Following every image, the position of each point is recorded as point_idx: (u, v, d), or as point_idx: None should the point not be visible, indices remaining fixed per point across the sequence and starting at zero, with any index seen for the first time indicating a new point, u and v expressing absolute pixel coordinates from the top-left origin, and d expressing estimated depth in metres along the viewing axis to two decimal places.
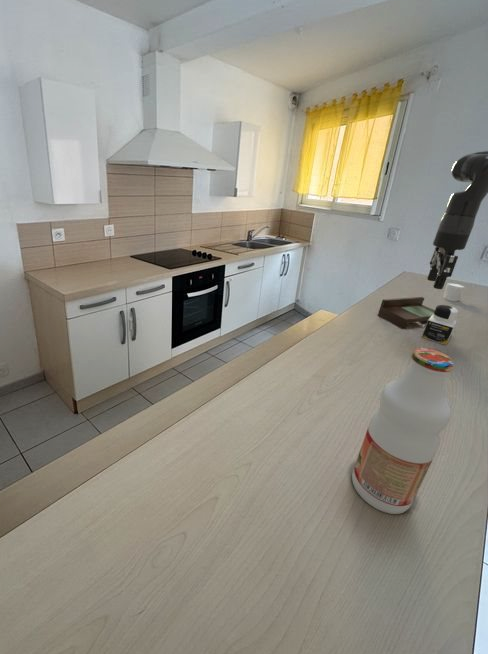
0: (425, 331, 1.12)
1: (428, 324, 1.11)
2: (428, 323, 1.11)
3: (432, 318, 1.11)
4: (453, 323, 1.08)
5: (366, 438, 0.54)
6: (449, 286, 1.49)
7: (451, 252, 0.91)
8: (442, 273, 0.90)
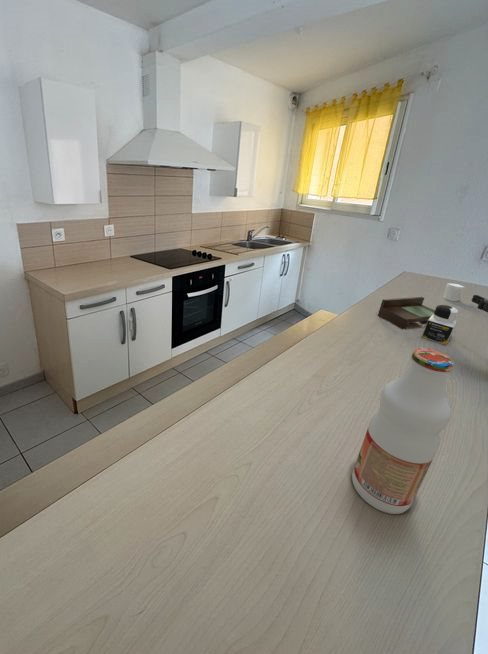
0: (425, 331, 1.12)
1: (428, 324, 1.11)
2: (428, 323, 1.11)
3: (432, 318, 1.11)
4: (453, 323, 1.08)
5: (366, 438, 0.54)
6: (449, 286, 1.49)
7: None
8: None
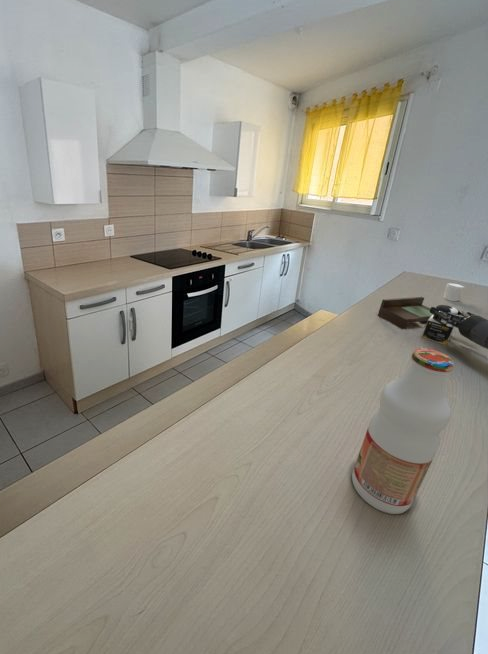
0: (425, 331, 1.12)
1: (428, 324, 1.11)
2: (428, 323, 1.11)
3: (432, 318, 1.11)
4: None
5: (366, 438, 0.54)
6: (449, 286, 1.49)
7: None
8: None
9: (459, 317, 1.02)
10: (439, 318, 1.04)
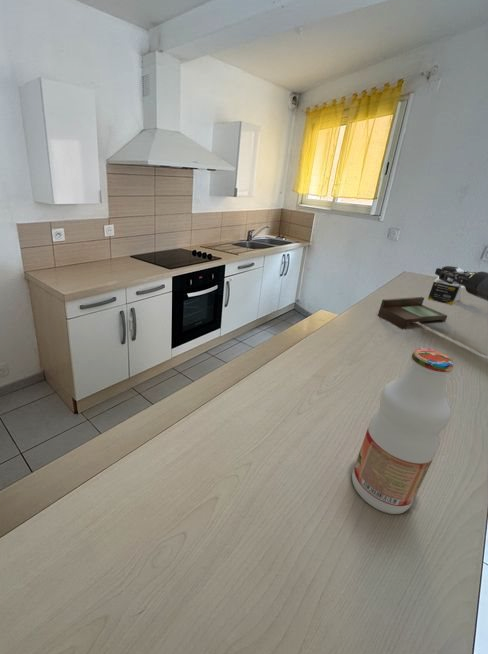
0: (431, 293, 1.12)
1: (434, 285, 1.10)
2: (434, 284, 1.10)
3: (438, 279, 1.11)
4: None
5: (366, 438, 0.54)
6: None
7: None
8: None
9: (465, 275, 1.02)
10: (445, 277, 1.04)
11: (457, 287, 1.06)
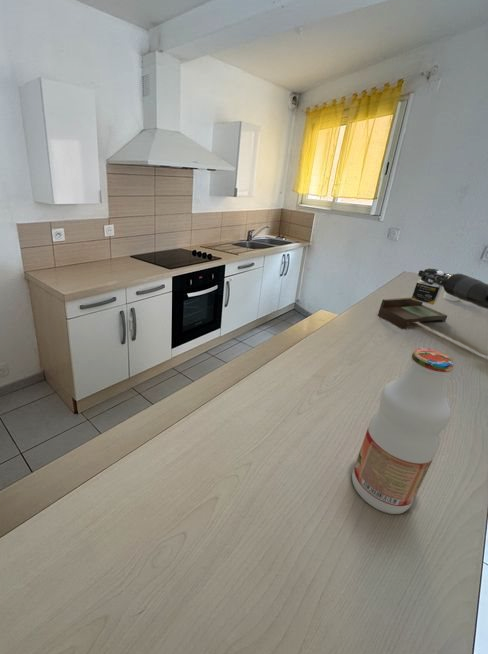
0: (414, 293, 1.22)
1: (417, 286, 1.20)
2: (417, 285, 1.20)
3: (420, 281, 1.21)
4: None
5: (366, 438, 0.54)
6: None
7: None
8: None
9: (444, 277, 1.12)
10: (426, 278, 1.14)
11: (437, 288, 1.16)
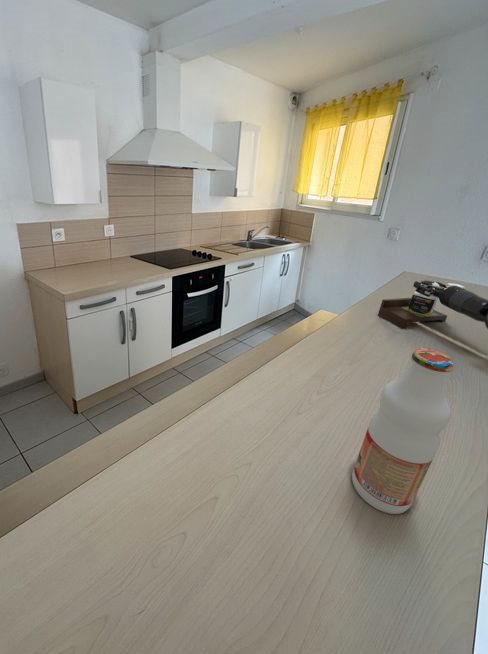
0: (410, 304, 1.23)
1: (413, 298, 1.22)
2: (413, 297, 1.22)
3: (416, 292, 1.23)
4: None
5: (366, 438, 0.54)
6: None
7: None
8: None
9: (440, 288, 1.13)
10: (422, 290, 1.15)
11: (433, 300, 1.18)
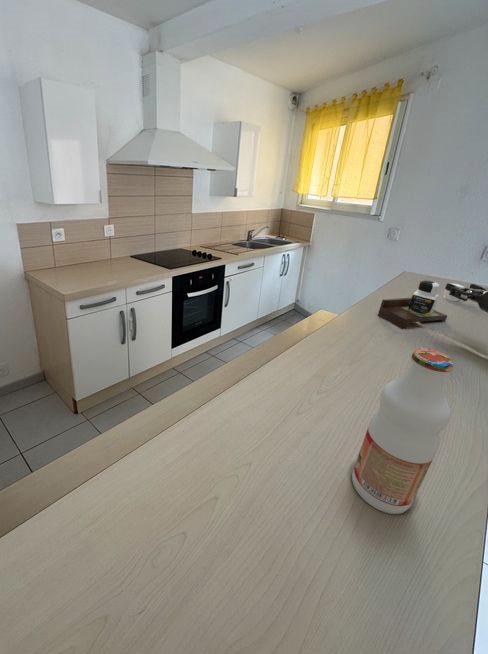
0: (410, 304, 1.23)
1: (413, 298, 1.22)
2: (413, 297, 1.22)
3: (416, 292, 1.23)
4: (435, 296, 1.20)
5: (366, 438, 0.54)
6: None
7: None
8: None
9: (479, 291, 1.00)
10: (458, 294, 1.01)
11: (433, 300, 1.18)
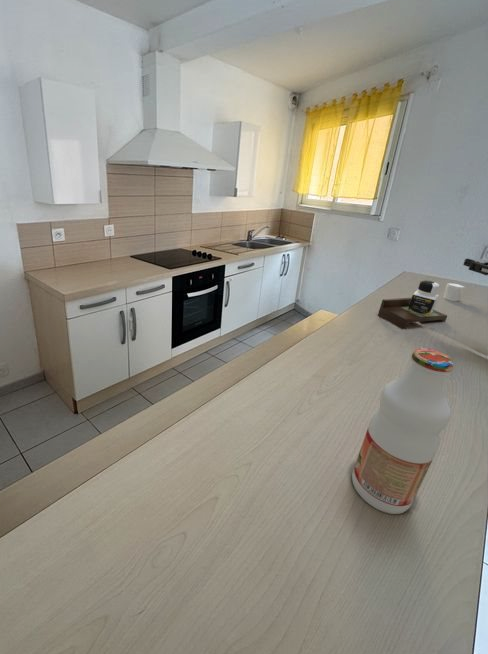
0: (410, 304, 1.23)
1: (413, 298, 1.22)
2: (413, 297, 1.22)
3: (416, 292, 1.23)
4: (435, 296, 1.20)
5: (366, 438, 0.54)
6: (449, 286, 1.49)
7: None
8: None
9: None
10: (479, 268, 0.95)
11: (433, 300, 1.18)
